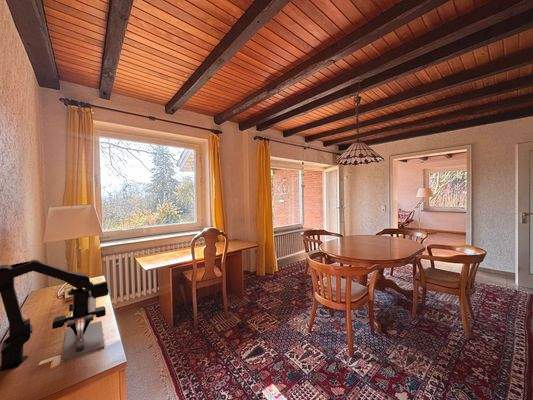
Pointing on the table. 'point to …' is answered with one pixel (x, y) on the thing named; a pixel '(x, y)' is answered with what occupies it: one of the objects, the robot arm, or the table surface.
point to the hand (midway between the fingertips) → (80, 334)
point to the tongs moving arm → (81, 328)
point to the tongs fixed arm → (79, 340)
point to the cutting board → (91, 341)
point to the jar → (92, 303)
